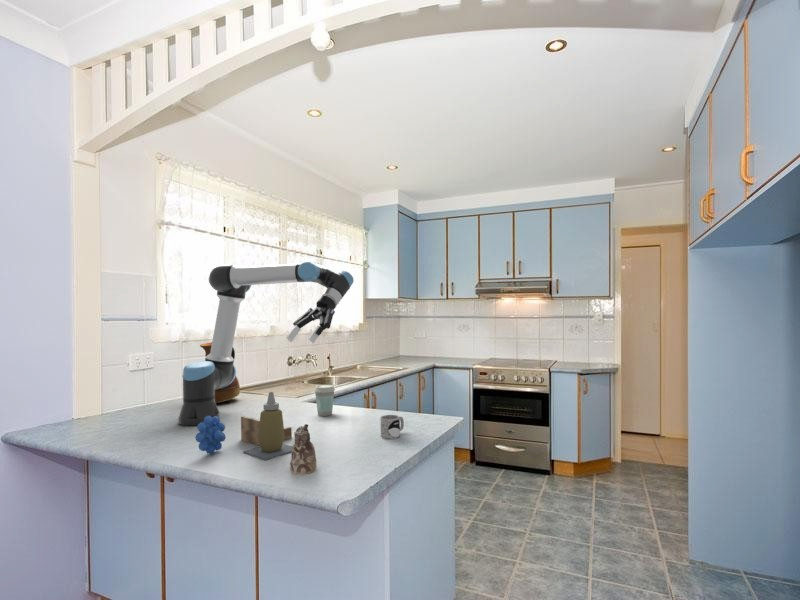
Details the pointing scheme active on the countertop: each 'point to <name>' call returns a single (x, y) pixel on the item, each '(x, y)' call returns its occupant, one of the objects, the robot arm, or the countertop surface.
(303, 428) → the figurine
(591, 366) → the countertop surface
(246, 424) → the brown wooden frame
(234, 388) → the ceramic pitcher
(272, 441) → the squeeze bottle
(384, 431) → the mug
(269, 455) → the rubber mat
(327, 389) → the coffee cup
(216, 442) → the grapes
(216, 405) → the robot arm
